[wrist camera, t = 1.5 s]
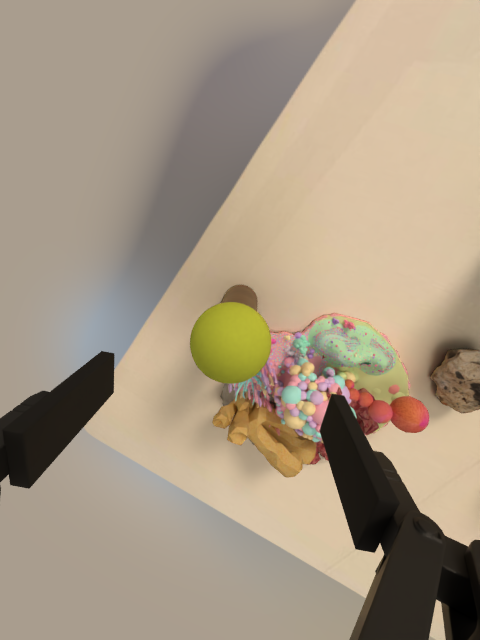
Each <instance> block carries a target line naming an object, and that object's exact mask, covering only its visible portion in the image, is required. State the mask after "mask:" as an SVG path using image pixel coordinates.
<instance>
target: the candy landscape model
mask: <svg viewBox="0 0 480 640" xmlns="http://www.w3.org/2000/svg"><path fill="white" fill-rule="evenodd" d="M270 334H271V351H270V355H269V358H268V360H267V362H266V364H265V365H264V367H263V368H262V369H261V370H260V372H259V373H257V374H256V375H255V376H254V377H252V378H250V379H248V380H246V381H244V382H240V383H234V384H228V383H225V384H224V387H223V390H222V394H221V398H222V399H223V407H221V409H220V411H219V412H218V413H217V414H216V415H215V416H214V418H213V424H214V426H216V427H220V428H224V429H225V428H226V427H227V426H228V425H230V426H229V431H228V439H227V440H228V441H230V442H232V443H235V444H238V445H242V443H243V442H244V441H245V440H246V438H247V437H248V438H249V439H250V441H251V442H252V443H253V445H255V446H256V447H257V449H258V450H259V451H260V452H261V453H262V454H263V455H264V456H265V457H266V459H267V460H268V461H269V463H270V464H271V465H272V466H273V467H274V468H275V469H276V470H278V471H279V472H280V473H281V474H282V475H283V476H284V477H294V476H296V475H297V474H298V473H299V472H300V471H301V470H302V464H307V465H308V464H316V463H317V462H318V461H319V460H320V457H319V454H318V453H320V455H321V456H322V457H325V459H326V460H328V457H327V454H326V450H325V447H324V444H323V441H322V437H321V434H320V431H319V430H320V427H321V424H322V421H323V418H324V415H325V412H326V409H327V406H328V403H329V400H330V397H331V394H338V395H343V396H345V398H346V400H347V402H348V404H349V406H350V407H351V409H352V411H353V413H354V415H355V417H356V419H357V421H358V423H359V425H360V427H361V429H362V431H363V433H364V434H365V435H369V434H371V433H376V431H378V430H379V429H380V428H382V427H384V426H386V425H387V424H388V422H389V421H390V420H391V422H392V423H393V424H394V425H395V426H396V427H397V428H399V429H400V430H402V431H404V432H410V433H417V432H421V431H422V430H424V429H425V428H426V427H427V425H428V422H429V413H428V410H427V409H426V407H425V406H424V405H423V403H422V402H421V401H419V400H417V399H415V398H412V397H410V396H409V392H408V390H409V388H410V383H409V381H408V372H407V370H406V368H405V366H404V364H403V363H402V362H401V361H400V359H399V358H400V356H399V354H398V351H397V350H396V349H394V348H393V347H392V345H391V343H390V341H389V339H388V337H387V336H386V335H385V334H383V333H379V332H378V330H377V329H375V328H374V327H372V325H371V324H370V323H369V322H367V321H363V320H360V319H356V318H352V317H348V316H344V315H340V314H336V313H332V314H331V315H323V316H321V317H319V318H317V319H316V320H314V321H312V323H311V325H310V326H308V327H307V328H305V330H304V331H303V332H301V333H300V332H296V333H295V334H292V333H288V332H284V331H281V332H280V333H274V332H270ZM234 414H235V415H234ZM233 416H234V417H233ZM232 418H233V419H232ZM231 421H232V422H231ZM230 423H231V424H230ZM328 461H329V460H328Z"/></svg>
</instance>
